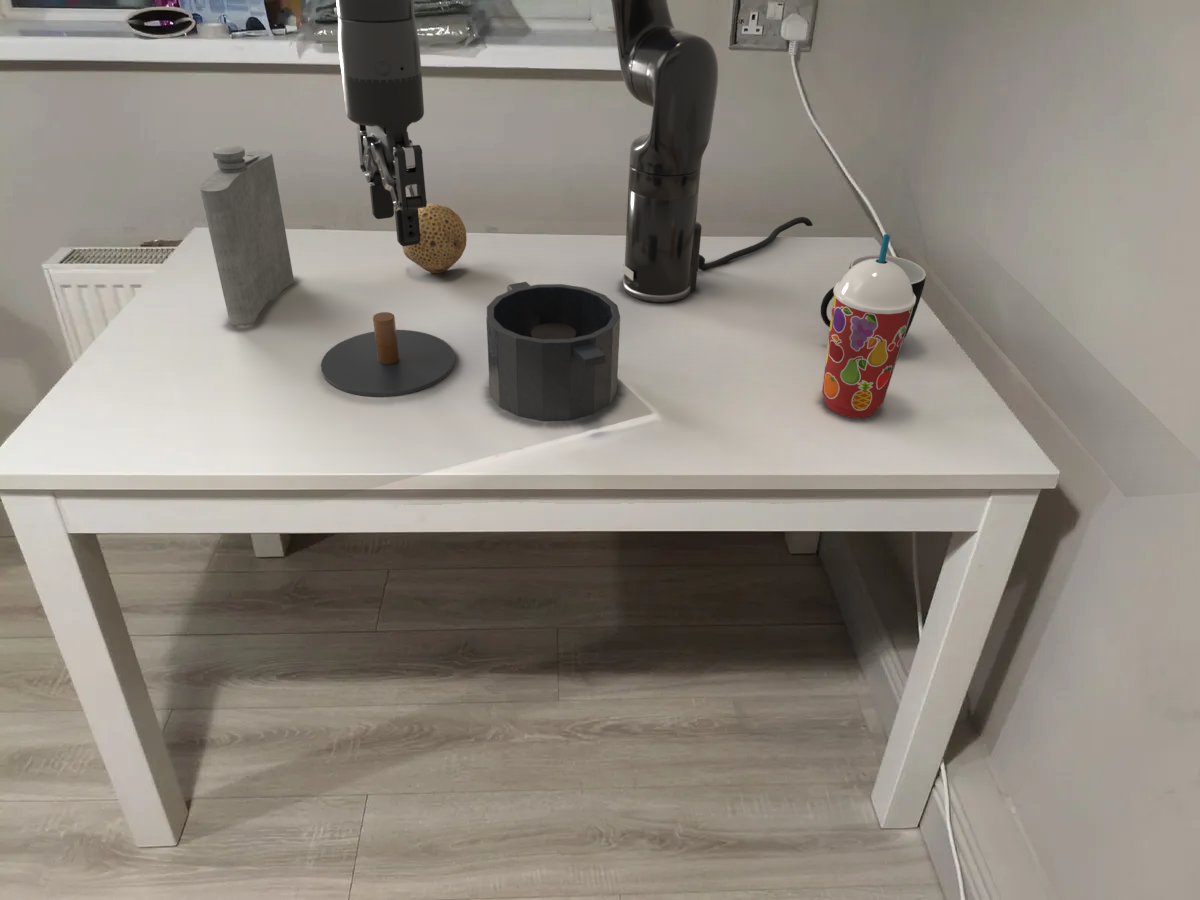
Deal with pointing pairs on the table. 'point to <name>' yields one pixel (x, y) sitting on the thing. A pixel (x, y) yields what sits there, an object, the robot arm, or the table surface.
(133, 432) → the table surface
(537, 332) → the tea tin
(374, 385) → the pot lid
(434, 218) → the natural sponge
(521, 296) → the pot
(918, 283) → the mug
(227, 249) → the hip flask
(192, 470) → the table surface
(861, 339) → the smoothie
